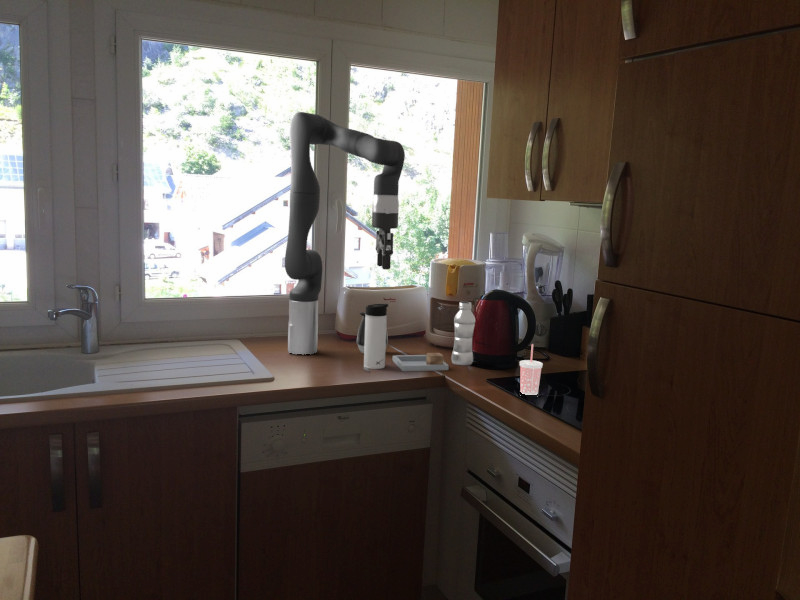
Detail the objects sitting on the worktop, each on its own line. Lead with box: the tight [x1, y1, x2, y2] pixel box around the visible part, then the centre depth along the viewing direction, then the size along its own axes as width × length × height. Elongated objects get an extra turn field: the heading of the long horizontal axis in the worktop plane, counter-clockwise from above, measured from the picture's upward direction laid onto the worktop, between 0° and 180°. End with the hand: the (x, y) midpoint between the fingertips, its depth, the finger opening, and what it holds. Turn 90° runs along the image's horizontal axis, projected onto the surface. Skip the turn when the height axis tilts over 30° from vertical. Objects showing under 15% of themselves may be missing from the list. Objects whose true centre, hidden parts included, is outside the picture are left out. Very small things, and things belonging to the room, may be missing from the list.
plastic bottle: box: [451, 301, 476, 366], centre depth 207 cm, size 6×7×20 cm
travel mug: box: [363, 303, 389, 373], centre depth 198 cm, size 6×7×20 cm
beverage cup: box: [519, 343, 544, 395], centre depth 178 cm, size 6×6×14 cm
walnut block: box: [426, 352, 444, 365], centre depth 201 cm, size 4×4×4 cm
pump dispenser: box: [356, 311, 389, 354], centre depth 219 cm, size 10×10×15 cm
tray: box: [392, 354, 449, 372], centre depth 203 cm, size 14×13×2 cm
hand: (383, 267), depth 195 cm, fingers open, 8 cm apart
